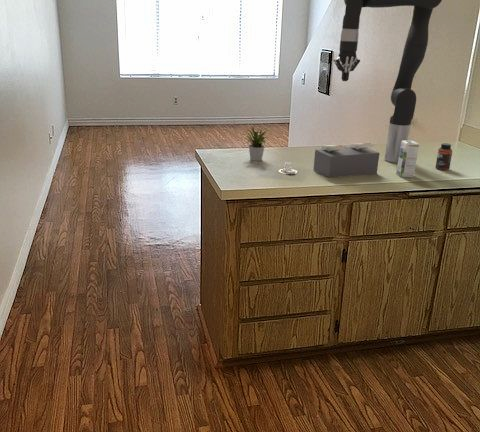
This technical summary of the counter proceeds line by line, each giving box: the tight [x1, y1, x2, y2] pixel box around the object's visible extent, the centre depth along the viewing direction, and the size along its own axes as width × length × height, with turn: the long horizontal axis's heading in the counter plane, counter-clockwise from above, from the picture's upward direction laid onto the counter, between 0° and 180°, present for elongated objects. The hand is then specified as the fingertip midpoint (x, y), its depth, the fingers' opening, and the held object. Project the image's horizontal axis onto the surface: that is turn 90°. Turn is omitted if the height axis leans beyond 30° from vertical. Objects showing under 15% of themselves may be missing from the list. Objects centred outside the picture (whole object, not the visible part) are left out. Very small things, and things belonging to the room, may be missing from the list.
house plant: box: [242, 123, 272, 162], centre depth 235 cm, size 14×14×16 cm
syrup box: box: [396, 139, 420, 178], centre depth 220 cm, size 6×6×14 cm
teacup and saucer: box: [278, 161, 298, 175], centre depth 220 cm, size 9×8×4 cm
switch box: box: [313, 146, 380, 179], centre depth 223 cm, size 24×12×9 cm, turn 113°
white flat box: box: [349, 143, 375, 149], centre depth 223 cm, size 5×10×2 cm, turn 23°
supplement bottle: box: [435, 142, 453, 171], centre depth 233 cm, size 6×6×11 cm
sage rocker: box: [321, 144, 346, 151], centre depth 218 cm, size 5×10×2 cm, turn 23°
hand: (344, 81), depth 234 cm, fingers closed
